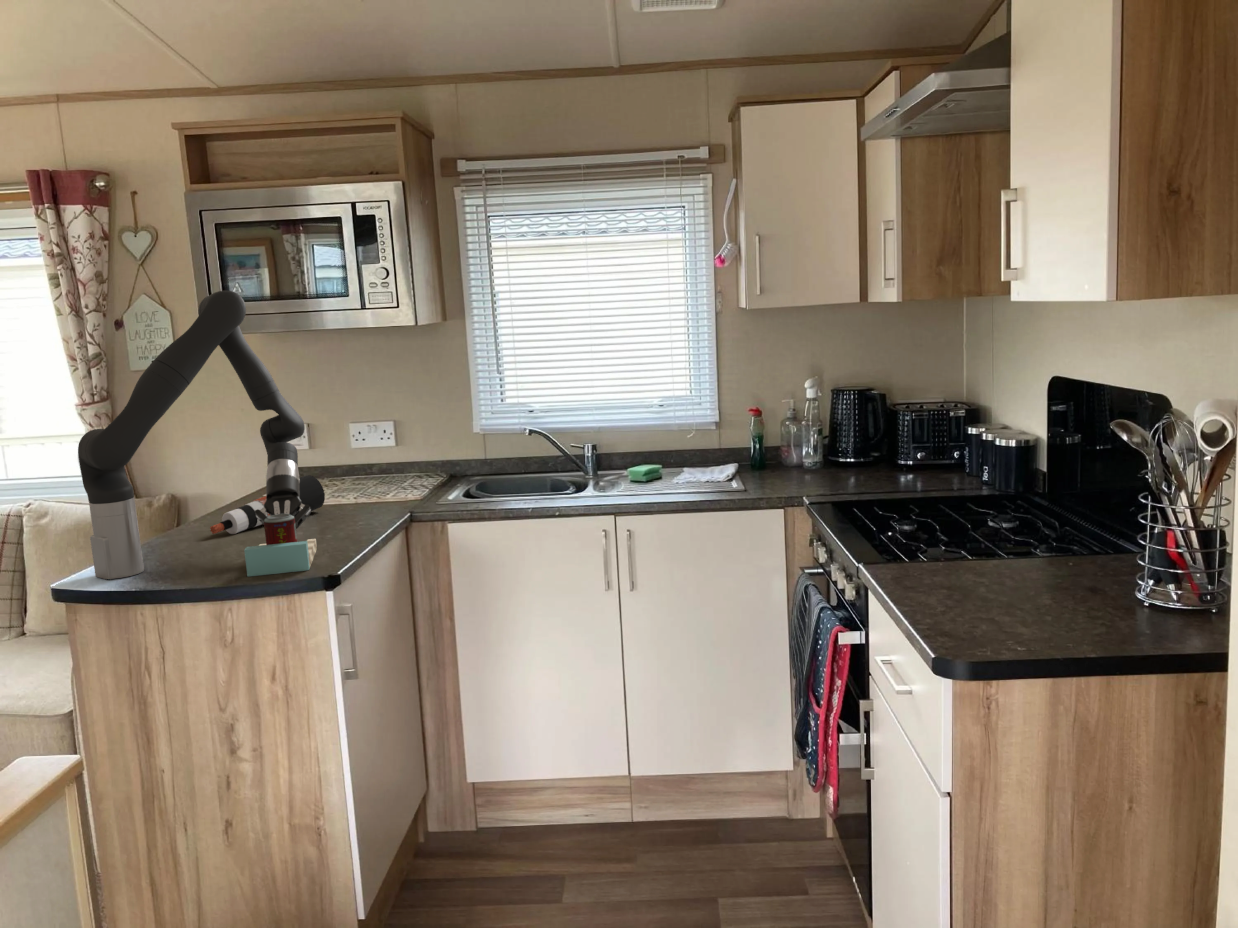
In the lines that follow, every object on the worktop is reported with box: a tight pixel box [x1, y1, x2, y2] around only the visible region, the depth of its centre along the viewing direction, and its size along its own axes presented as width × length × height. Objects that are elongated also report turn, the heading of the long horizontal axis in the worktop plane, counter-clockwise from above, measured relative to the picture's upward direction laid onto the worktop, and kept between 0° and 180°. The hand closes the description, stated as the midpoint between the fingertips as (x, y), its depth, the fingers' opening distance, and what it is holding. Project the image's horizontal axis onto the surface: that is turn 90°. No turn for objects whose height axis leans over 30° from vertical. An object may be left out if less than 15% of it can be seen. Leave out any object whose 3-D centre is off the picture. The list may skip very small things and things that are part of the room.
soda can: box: [263, 514, 298, 545], centre depth 224 cm, size 7×7×12 cm
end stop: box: [244, 540, 311, 577], centre depth 219 cm, size 3×13×6 cm, turn 102°
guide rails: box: [258, 538, 318, 567], centre depth 229 cm, size 19×13×2 cm
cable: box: [209, 474, 326, 535], centre depth 272 cm, size 10×34×10 cm, turn 149°
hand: (283, 543), depth 228 cm, fingers closed
